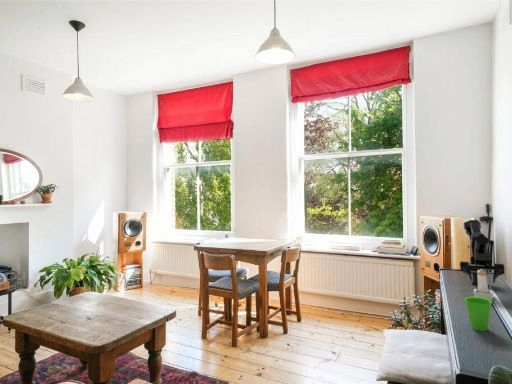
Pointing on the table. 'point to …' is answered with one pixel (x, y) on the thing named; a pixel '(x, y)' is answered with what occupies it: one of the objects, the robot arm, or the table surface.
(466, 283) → the table surface
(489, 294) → the frame
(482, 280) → the cell
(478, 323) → the cup
